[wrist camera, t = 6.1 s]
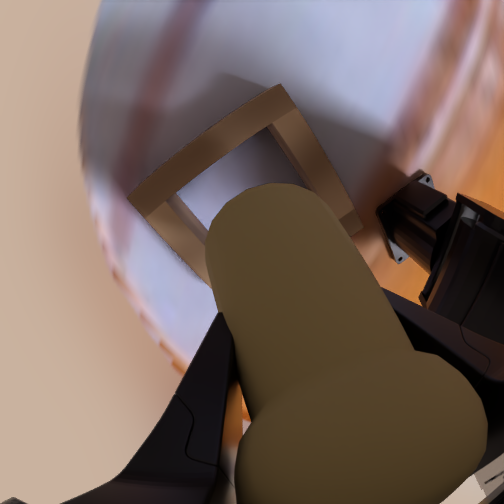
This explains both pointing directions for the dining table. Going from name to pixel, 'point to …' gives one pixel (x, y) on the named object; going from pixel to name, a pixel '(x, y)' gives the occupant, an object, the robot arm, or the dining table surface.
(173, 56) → the dining table surface
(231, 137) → the socket block
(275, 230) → the cork
